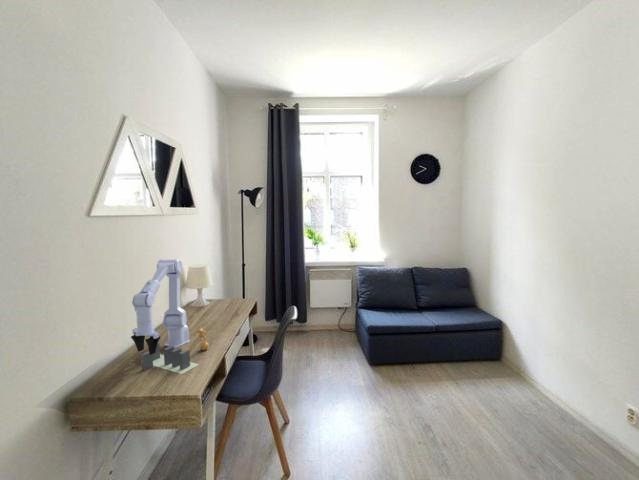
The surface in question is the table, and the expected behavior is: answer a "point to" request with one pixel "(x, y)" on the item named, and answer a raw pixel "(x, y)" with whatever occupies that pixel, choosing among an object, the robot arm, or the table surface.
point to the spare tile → (147, 361)
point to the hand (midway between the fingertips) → (146, 352)
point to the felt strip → (177, 369)
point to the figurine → (204, 344)
